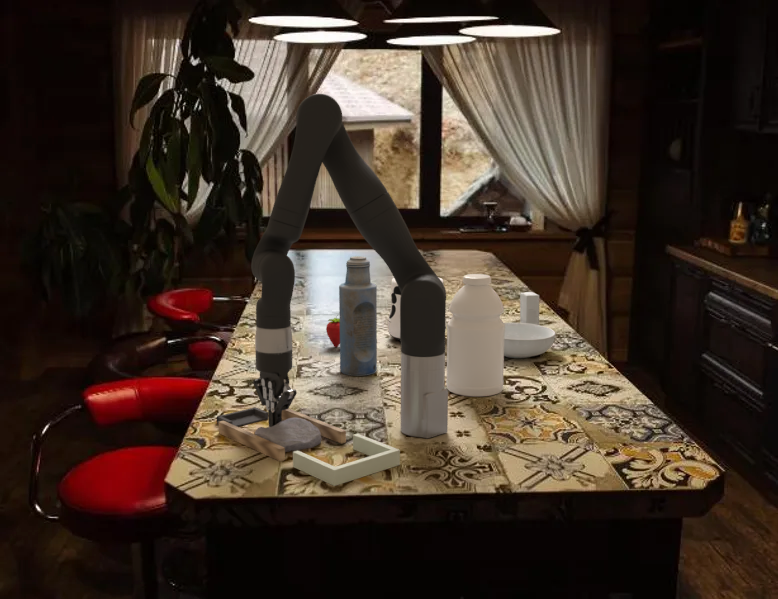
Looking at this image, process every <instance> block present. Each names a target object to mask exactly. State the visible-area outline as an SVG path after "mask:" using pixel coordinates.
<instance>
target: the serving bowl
mask: <svg viewBox="0 0 778 599" xmlns="http://www.w3.org/2000/svg"><path fill="white" fill-rule="evenodd" d="M504 323H505V337H504V357H505V358H510V359H511V358H513V359H525V358H530V357H535V356H539V355H542V354H544V353H545V352H547V351H548V350H550V348H551V347H553V344H554V342H555V338H556V331H555V330H553V329H552V328H550V327H547V326H544V325H540V324H539V325H535V324H528V323H520V322H504Z"/></svg>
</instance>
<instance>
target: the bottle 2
mask: <svg viewBox="0 0 778 599" xmlns="http://www.w3.org/2000/svg"><path fill="white" fill-rule="evenodd" d="M462 283H463V284H464V285H463V286H461V287H460V288H459V290H457V291H456V293H455V294H454V296H453V297H452V299H451V301H450V304H449V307H448V311H449V312H450V313H451V314H452V317H451V318H450V320H448V322H446V379H445V384H446V389H448V392H451V393H452V394H456V395H459V396H463V397H488V396H489V397H491V396H494V395H497V394H500V393H502V391H503V388H504V382H505V381H504V367H505V366H504V365H505V364H504V363H505V356H504V337H505V323H506V322H504V321H503V320H502V318H501V317H500V316H502V315H503V313H504V311H505V307H504V304H503V301H502V300H501V298H500V296H499V294H498V293H497V292H496V291H495V289H494V288H493V287H492V286H491V284H492V277H491V276H490V274H489V275H488V274H485V273H484V274H483V273H471V274H470V273H468V274H465V275H463V277H462Z"/></svg>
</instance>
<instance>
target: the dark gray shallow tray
mask: <svg viewBox="0 0 778 599" xmlns="http://www.w3.org/2000/svg"><path fill="white" fill-rule="evenodd" d="M265 420H269V419H268V411H267V410H263V409H261V408H259V407H251V408H246V409H241V410H238V411H234V412H230V413H225V414H221V415H217V416H216V424H218V425H219V422H220V421H226V422H228V423H230V424H232V425H235V426H237V427H242V426H246V425H251V424H254V423H258V422H261V421H265Z"/></svg>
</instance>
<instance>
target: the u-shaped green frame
mask: <svg viewBox="0 0 778 599" xmlns="http://www.w3.org/2000/svg"><path fill="white" fill-rule="evenodd" d="M352 450H354V451H356V452H359V453H361V454H364V455H367V456H366V457H363V458H360V459H359V458H358V459H357V460H352V461H350V462H347V463H343V464H340V465H336V466H335V465H332V464H330V463H328V462H325V461H323V460H321V459H318V458H316V457H314V456H312V455H309V454H307V453H304V452H302V451H301V450H294V451H292V466H293V468H294V469H297V470H298V471H299V470H300V471H301V472H303V473H305V474H307V475H310V476H312V477H314V478H317V479H318V480H321V481H322V482H325V483H327V484H329V485H331V486H334V487H335V486H339V485H341V484H346V483H348V482H351V481H355V480H357V479H360V478H364V477H366V476H369V475H373V474H375V473H379V472H382V471H385V470H388V469H390V468H394V467H398V466H400V464H401V450H400V449H399V448H396V447H394V446H391V445H388V444H385V443H383V442H380V441H378V440H375V439H372V438H370V437H367V436H364V435H363V434H360V433H355V434H352Z"/></svg>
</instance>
